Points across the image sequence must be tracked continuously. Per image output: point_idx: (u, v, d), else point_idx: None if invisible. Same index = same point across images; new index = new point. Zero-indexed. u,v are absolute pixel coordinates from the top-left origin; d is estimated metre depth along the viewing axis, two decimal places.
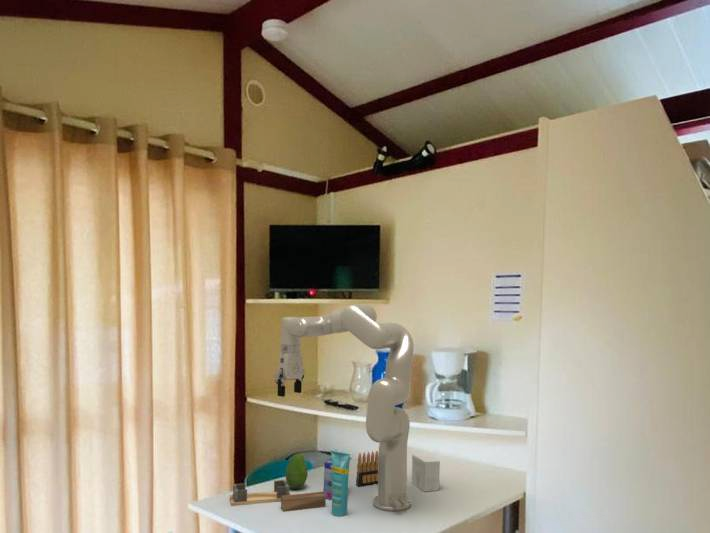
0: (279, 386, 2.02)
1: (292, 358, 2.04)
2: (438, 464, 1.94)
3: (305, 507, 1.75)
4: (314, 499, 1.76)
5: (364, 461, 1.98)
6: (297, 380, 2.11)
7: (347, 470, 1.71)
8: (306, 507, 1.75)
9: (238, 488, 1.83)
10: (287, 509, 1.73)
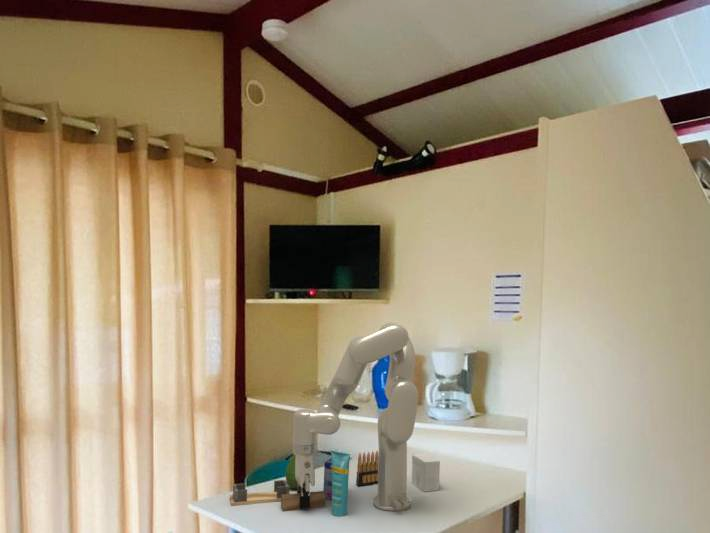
0: (305, 497, 1.74)
1: None
2: (438, 464, 1.94)
3: None
4: (313, 498, 1.76)
5: (364, 461, 1.98)
6: None
7: (347, 470, 1.71)
8: None
9: (238, 488, 1.83)
10: (287, 508, 1.73)
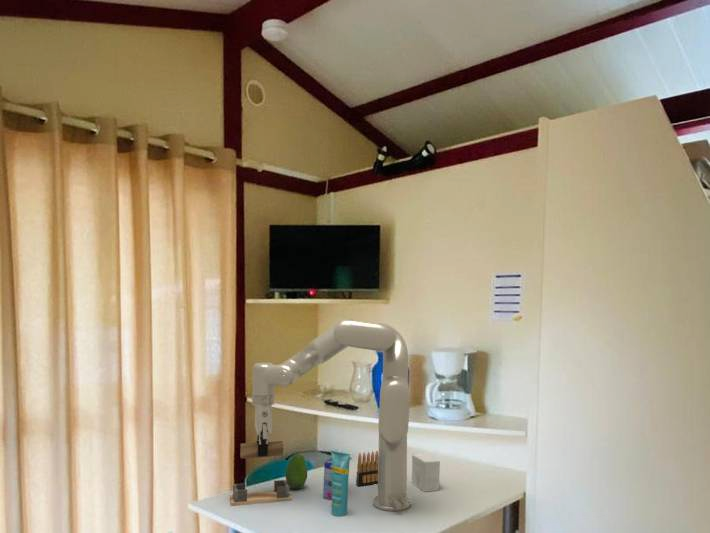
0: (263, 445, 1.81)
1: None
2: (438, 464, 1.94)
3: None
4: (271, 447, 1.83)
5: (364, 461, 1.98)
6: (260, 437, 1.86)
7: (347, 470, 1.71)
8: None
9: (238, 488, 1.83)
10: (245, 455, 1.81)
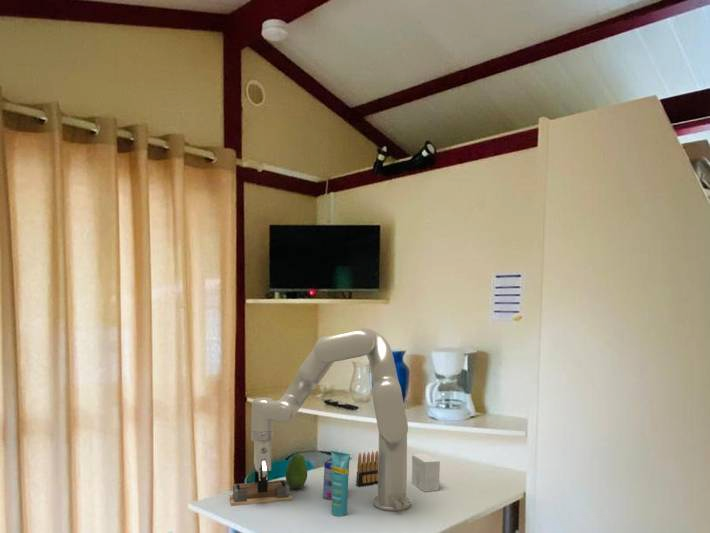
0: (262, 481, 1.78)
1: None
2: (438, 464, 1.94)
3: (261, 495, 1.81)
4: (270, 487, 1.82)
5: (364, 461, 1.98)
6: None
7: (347, 470, 1.71)
8: (262, 495, 1.82)
9: (238, 488, 1.83)
10: None
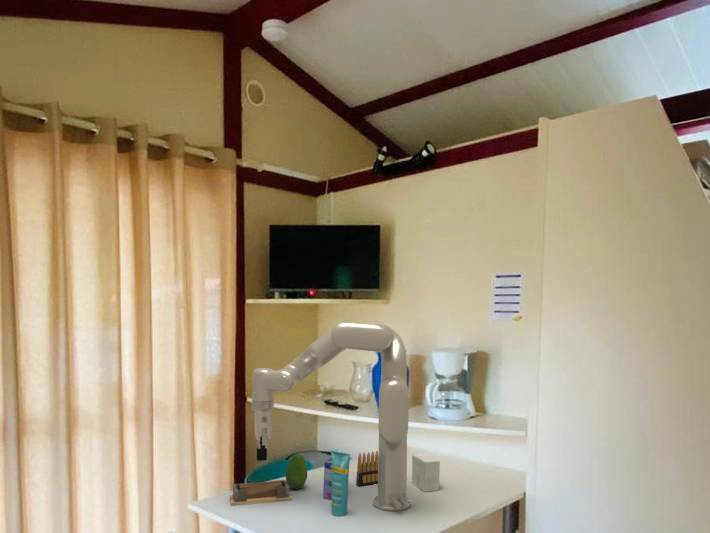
0: (262, 449, 1.82)
1: None
2: (438, 464, 1.94)
3: (261, 495, 1.81)
4: (270, 487, 1.82)
5: (364, 461, 1.98)
6: None
7: (347, 470, 1.71)
8: (262, 495, 1.82)
9: (238, 488, 1.83)
10: None
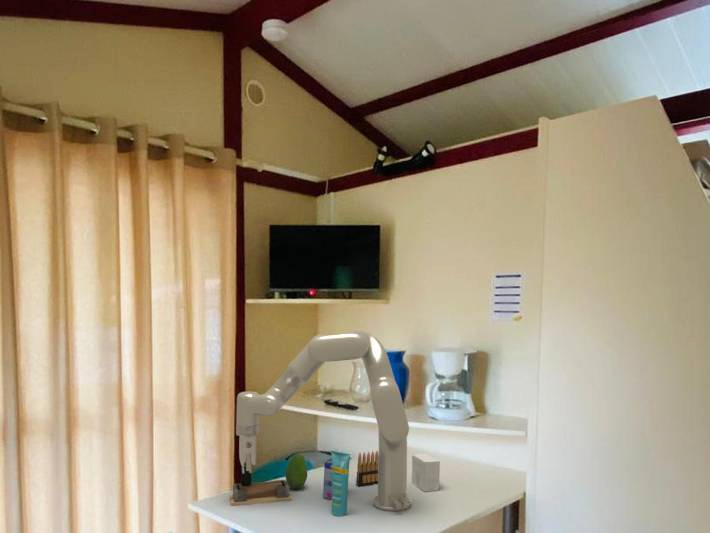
0: (246, 474, 1.81)
1: None
2: (438, 464, 1.94)
3: (261, 495, 1.81)
4: (270, 487, 1.82)
5: (364, 461, 1.98)
6: None
7: (347, 470, 1.71)
8: (262, 495, 1.82)
9: (238, 488, 1.83)
10: None
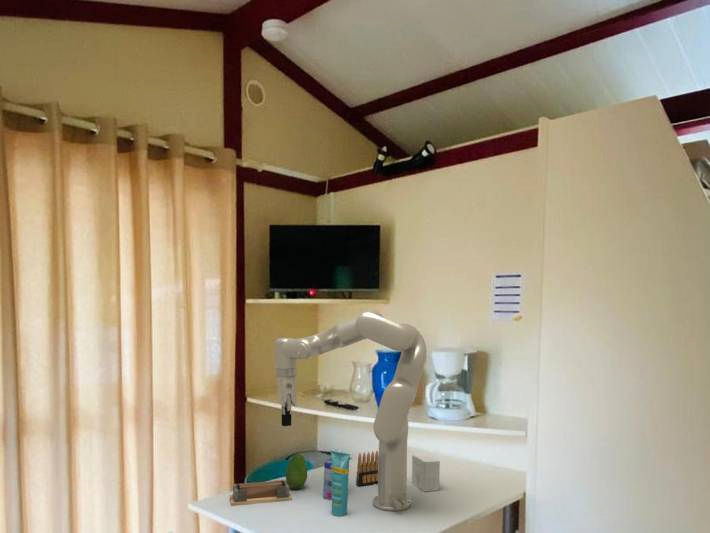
0: (287, 415, 1.90)
1: None
2: (438, 464, 1.94)
3: (261, 495, 1.81)
4: (270, 487, 1.82)
5: (364, 461, 1.98)
6: None
7: (347, 470, 1.71)
8: (262, 495, 1.82)
9: (238, 488, 1.83)
10: None
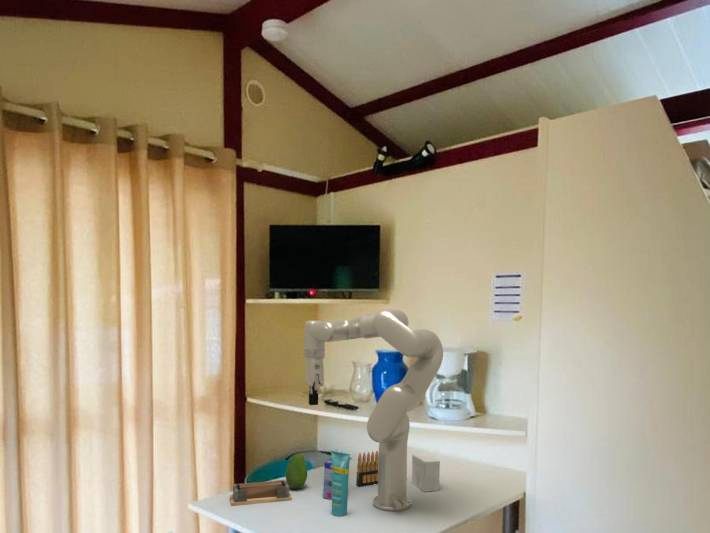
0: (314, 395, 1.97)
1: None
2: (438, 464, 1.94)
3: (261, 495, 1.81)
4: (270, 487, 1.82)
5: (364, 461, 1.98)
6: None
7: (347, 470, 1.71)
8: (262, 495, 1.82)
9: (238, 488, 1.83)
10: None
